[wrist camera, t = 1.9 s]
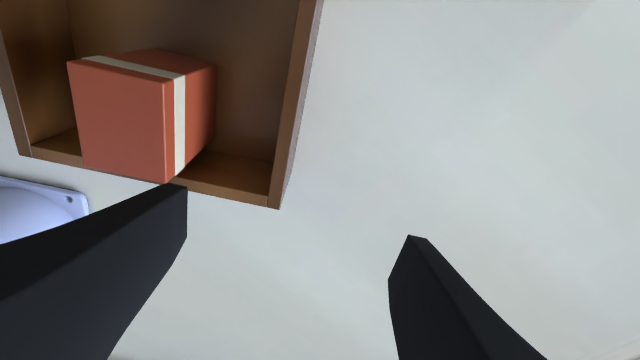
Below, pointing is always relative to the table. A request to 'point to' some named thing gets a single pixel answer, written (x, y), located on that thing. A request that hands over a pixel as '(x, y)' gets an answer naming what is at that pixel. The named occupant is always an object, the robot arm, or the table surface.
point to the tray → (180, 38)
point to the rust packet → (143, 111)
